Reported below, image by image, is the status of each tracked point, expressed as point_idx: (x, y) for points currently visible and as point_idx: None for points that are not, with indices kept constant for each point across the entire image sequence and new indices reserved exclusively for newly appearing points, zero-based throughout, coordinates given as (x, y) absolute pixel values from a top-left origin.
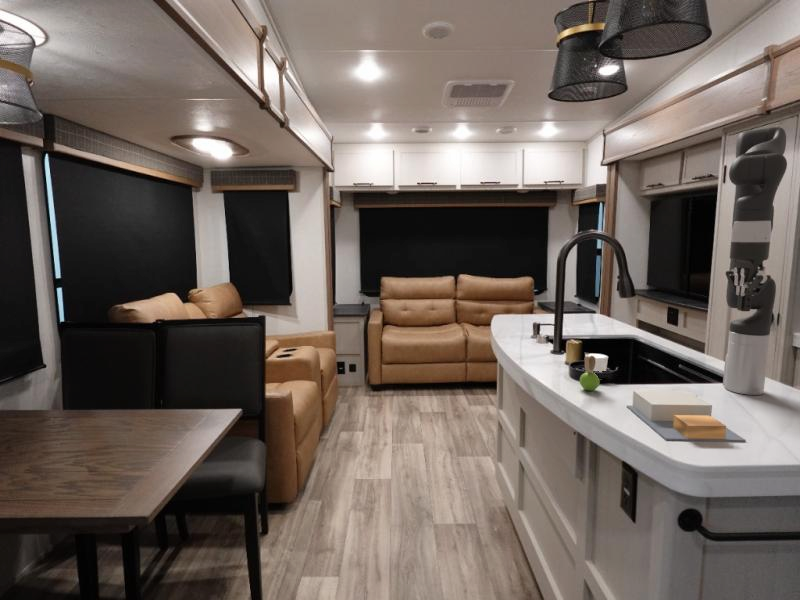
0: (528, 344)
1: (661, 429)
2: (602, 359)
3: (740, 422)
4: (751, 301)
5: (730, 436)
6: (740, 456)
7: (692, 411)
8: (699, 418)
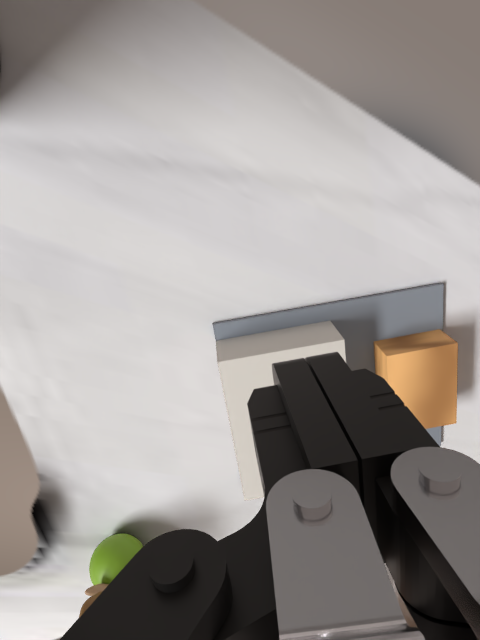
0: None
1: None
2: None
3: (310, 235)
4: (417, 419)
5: (424, 311)
6: None
7: None
8: (409, 386)
